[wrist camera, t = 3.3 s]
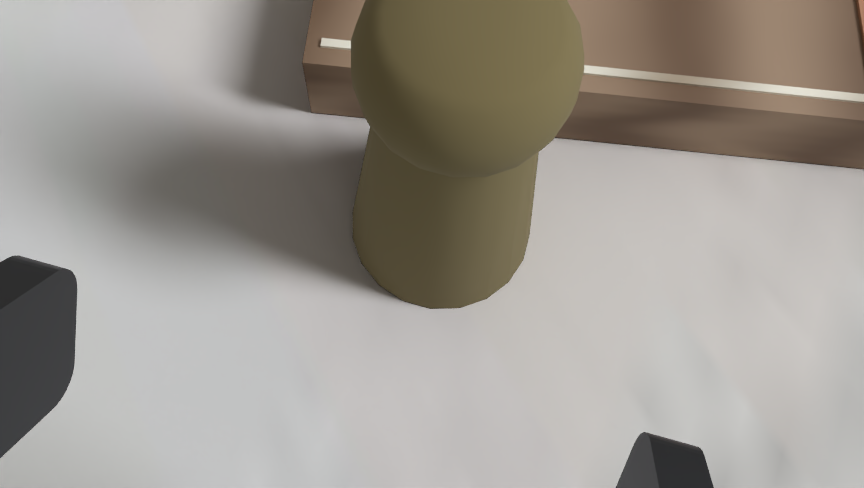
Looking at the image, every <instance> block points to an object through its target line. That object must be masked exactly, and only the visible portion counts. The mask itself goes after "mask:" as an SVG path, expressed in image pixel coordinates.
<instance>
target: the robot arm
mask: <svg viewBox="0 0 864 488" xmlns="http://www.w3.org/2000/svg"><path fill="white" fill-rule="evenodd" d="M76 306H77V281H76V278H75V275H74V274H73V272H72V271H70V270H68V269H65V268H61V267H58V266H54V265H50V264H47V263H43V262H40V261H36V260H32V259H29V258H25V257H22V256H11V257H9V258H7V259H5V260H3V261H2V262H0V458H1V457H2V456H3V455H4V454H5V453H6V452H7V451H8V450H9V449H11V448H12V447H13V446H14V445H15V444H16V443H17V442H18V441H19V440H20V439H21V438H22V437H23V436H24V435H25V434H27V433H28V432H29V431H30V430H31V429H32V428H33V427H34V426H35V425H36V424H37V423H38V422H39V421H40V420H41V419H43V418H44V417H45V416H46V415H47V414H48V413H49V412H50V411H51V410H52V409H53V408H54V407H55V406H56V405H57V404H58V402H59V401H60V400H61V398H62V397H63V395H64V393H65V391H66V390H67V387H68V385H69V383H70V380H71V377H72V374H73V369H74V361H75V334H76ZM616 488H714V487H713V484H712V481H711V477H710V474H709V470H708V467H707V463H706V460H705V457H704V454H703V451H702V450H701V449H700V448H699V447H696V446H693V445H689V444H686V443H682V442H678V441H675V440H671V439H668V438H664V437H661V436H657V435H653V434H650V433H646V432H643V433H641V434H640V435H639V437H638V438H637V440H636V441H635V444H634V446H633V448H632V450H631V453H630V455H629V458H628V460H627V462H626V465H625V467H624V469H623V472H622V474H621V477H620V479H619V481H618V484H617V486H616Z"/></svg>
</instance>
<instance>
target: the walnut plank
mask: <svg viewBox="0 0 864 488" xmlns="http://www.w3.org/2000/svg"><path fill="white" fill-rule="evenodd" d="M567 1H568V3H569V5H570V6H571V8H572V10H573V12H574V14H575V16H576V18H577V20H578V22H579V23H580V27H581V34H582V42H583V49H584V73H583V77H582V81H581V86H580V90H579V94H578V98H577V101H576V103H575V106H574V108H573V110H572V112H571V114H570V116H569V117H568V119H567V120H566V122H565V123H564V124H563V126H562V127H561V129H560V130H559V132H558V133H557V135H556V136H555V137H557V138H567V139H577V140H587V141H596V142H606V143H616V144H626V145H635V146H645V147H655V148H665V149H675V150H684V151H694V152H704V153H714V154H723V155H733V156H743V157H753V158H763V159H772V160H782V161H792V162H802V163H811V164H821V165H831V166H841V167H851V168H860V169H864V0H567ZM364 2H365V0H313V6H312V11H311V17H310V22H309V28H308V33H307V39H306V44H305V50H304V56H303V61H302V64H303V69H304V75H305V80H306V85H307V91H308V96H309V102H310V107H311V112H313V113H323V114H332V115H342V116H352V117H362V118H365V117H364V115H363V112H362V109H361V107H360V104H359V102H358V99H357V97H356V94H355V91H354V89H353V85H352V77H351V38H352V35H353V32H354V29H355V26H356V23H357V20H358V18H359V15H360V13H361V10H362V8H363V5H364Z"/></svg>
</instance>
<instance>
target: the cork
mask: <svg viewBox="0 0 864 488" xmlns="http://www.w3.org/2000/svg"><path fill="white" fill-rule="evenodd" d="M583 73H584V49H583V42H582V34H581V27H580V23H579V22H578V20H577V18H576V16H575V14H574V12H573V10H572V8H571V6H570V5H569V3H568V1H567V0H365V2H364V5H363V8H362V10H361V13H360V15H359V18H358V20H357V23H356V26H355V29H354V32H353V35H352V38H351V77H352V85H353V89H354V91H355V94H356V97H357V99H358V102H359V104H360V107H361V109H362V112H363V115H364V117H365V119H366V120H367V122H368V124H369V125H370V131H369V135H368V140H367V145H366V150H365V155H364V160H363V165H362V170H361V174H360V179H359V184H358V189H357V194H356V199H355V204H354V209H353V240H354V243H355V246H356V249H357V252H358V254H359V257H360V260H361V263H362V264H363V266H364V267H365V268H366V269H367V271H368V272H369V273H370V274H371V276H372V277H373V278H374V279H375V281H376V282H377V283H378V284H379V285H380V286H381V287H383V288H384V289H386V290H387V291H389V292H390V293H392V294H393V295H395V296H396V297H398V298H399V299H401V300H402V301H405V302H409V303H413V304H416V305H420V306H423V307H427V308H430V309H438V308H461V307H464V306H467V305H470V304H473V303H476V302H478V301H481V300H484V299H487V298H488V297H490V296H491V295H492V294H493V293H495V292H496V291H497V290H499V289H500V288H501V287H503V286H504V285H505V284H507V283H508V282H509V281H510V279H511V278H512V276H513V274H514V273H515V271H516V270H517V268H518V267H519V265H520V264H521V262H522V261H523V259H524V255H525V251H526V247H527V243H528V239H529V234H530V225H531V216H532V207H533V198H534V189H535V180H536V171H537V162H538V152H539V151H540V150H542V149H543V148H544V147H545V146H547V145H548V144H549V143H550V142H551V141H552V140H553V139H554V137H555V136H556V135H557V133H558V132H559V130H560V129H561V127H562V126H563V124H564V123H565V122H566V120H567V119H568V117H569V116H570V114H571V112H572V110H573V108H574V106H575V103H576V101H577V98H578V94H579V90H580V86H581V81H582V77H583Z"/></svg>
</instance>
